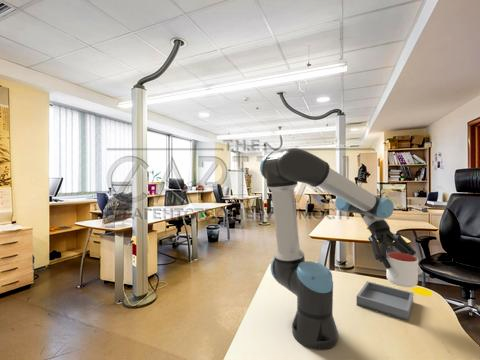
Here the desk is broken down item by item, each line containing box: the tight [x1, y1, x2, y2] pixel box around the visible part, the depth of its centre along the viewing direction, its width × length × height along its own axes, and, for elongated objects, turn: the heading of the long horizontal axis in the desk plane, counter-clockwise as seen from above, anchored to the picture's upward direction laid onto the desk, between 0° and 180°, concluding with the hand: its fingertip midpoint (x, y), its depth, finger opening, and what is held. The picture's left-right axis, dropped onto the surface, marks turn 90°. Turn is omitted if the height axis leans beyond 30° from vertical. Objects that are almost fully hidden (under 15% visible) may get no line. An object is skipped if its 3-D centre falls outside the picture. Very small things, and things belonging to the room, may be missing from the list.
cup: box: [386, 251, 419, 288], centre depth 94 cm, size 10×10×10 cm
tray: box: [356, 281, 414, 322], centre depth 104 cm, size 18×18×4 cm
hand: (408, 275), depth 91 cm, fingers closed on cup, 10 cm apart
